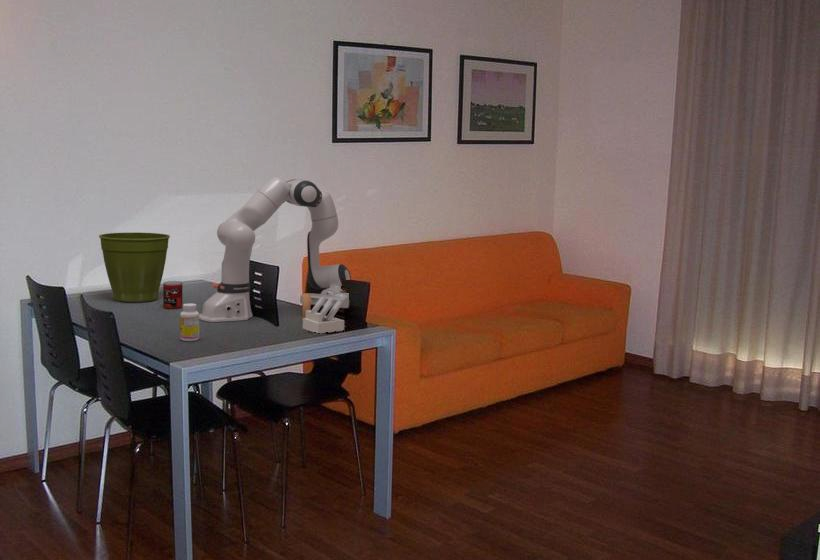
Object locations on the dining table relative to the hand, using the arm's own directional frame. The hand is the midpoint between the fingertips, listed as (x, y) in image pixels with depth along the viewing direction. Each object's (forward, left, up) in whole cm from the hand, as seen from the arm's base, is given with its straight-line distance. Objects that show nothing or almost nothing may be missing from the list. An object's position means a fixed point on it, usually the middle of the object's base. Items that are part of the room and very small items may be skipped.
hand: (315, 303), depth 349 cm
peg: (-7, -4, -7) cm, 11 cm away
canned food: (-39, +51, -7) cm, 64 cm away
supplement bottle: (-59, -8, -7) cm, 60 cm away
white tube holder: (-7, -17, -7) cm, 20 cm away
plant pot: (-45, +77, -7) cm, 89 cm away
